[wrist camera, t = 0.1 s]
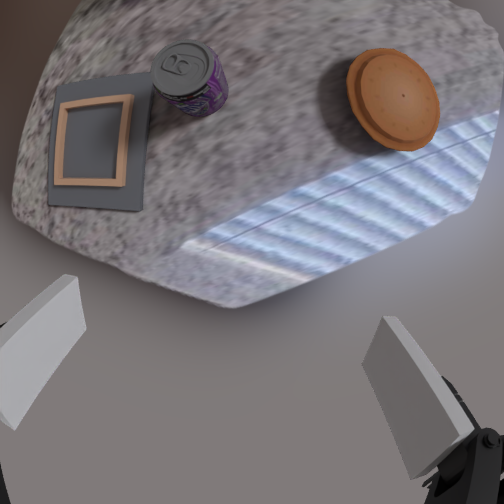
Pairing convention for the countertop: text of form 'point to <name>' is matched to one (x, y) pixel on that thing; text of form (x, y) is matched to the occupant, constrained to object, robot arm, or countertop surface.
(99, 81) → the dock plate
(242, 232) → the countertop surface
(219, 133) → the countertop surface
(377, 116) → the pie
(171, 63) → the beverage can
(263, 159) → the countertop surface
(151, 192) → the countertop surface
